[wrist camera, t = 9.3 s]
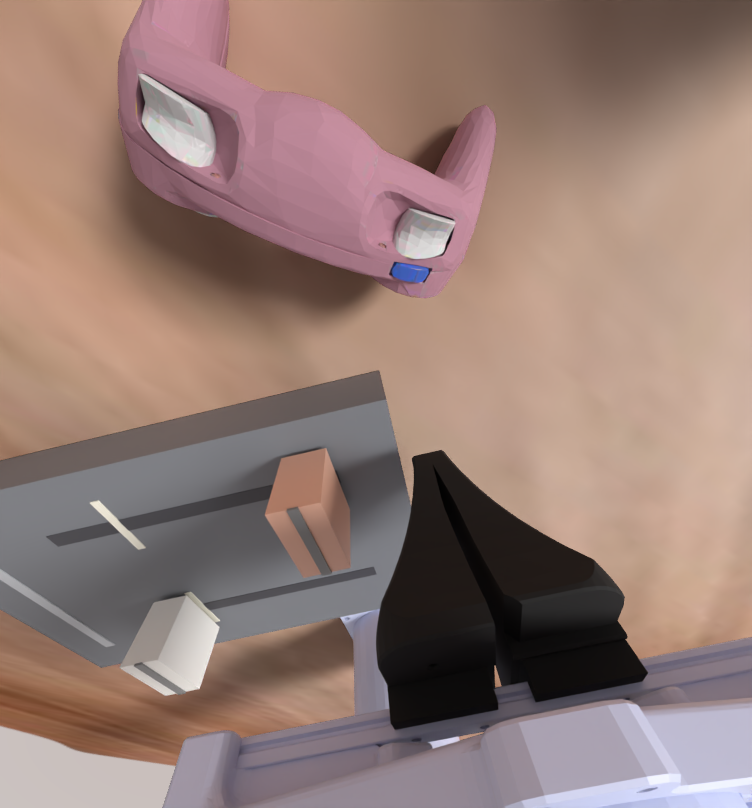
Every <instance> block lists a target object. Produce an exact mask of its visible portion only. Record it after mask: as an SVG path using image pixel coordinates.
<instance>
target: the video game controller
mask: <svg viewBox="0 0 752 808" xmlns="http://www.w3.org/2000/svg"><path fill="white" fill-rule="evenodd" d="M228 41H229V2H228V0H142V3H141V5H140V7H139V9H138V11H137V13H136V15H135V17H134V19H133V21H132V23H131V25H130V27H129V29H128V31H127V33H126V35H125V37H124V39H123V42H122V47H121V52H120V56H119V61H118V94H119V109H118V119H119V123H120V126H121V130H122V134H123V138H124V141H125V145H126V149H127V153H128V157H129V160H130V164H131V168H132V171H133V173H134V174H135V176H136V177H137V178H138V179H139V180H140V181H141V182H142V183H143V184H144V185H145V186H146V187H147V188H149V189H150V190H151V191H152V192H153V193H154V194H156V195H158V196H160V197H162V198H163V199H165V200H167V201H169V202H171V203H173V204H175V205H178V206H181V207H184V208H187V209H191V210H194V211H196V212H198V213H200V214H203V215H205V216H208V217H219V218H221V219H223V220H225V221H227V222H229V223H231V224H233V225H234V226H236V227H238V228H240V229H242V230H244V231H246V232H248V233H250V234H253V235H255V236H258V237H260V238H262V239H265V240H267V241H269V242H272V243H274V244H276V245H279V246H281V247H283V248H286V249H288V250H290V251H293V252H295V253H298V254H301V255H304V256H307V257H310V258H313V259H315V260H318V261H321V262H324V263H327V264H330V265H333V266H336V267H339V268H343V269H346V270H350V271H353V272H356V273H360V274H365V275H369V276H371V277H372V278H373V279H375V280H376V281H378V282H379V283H380V284H382V285H383V286H385V287H387V288H389V289H391V290H393V291H394V292H396V293H400V294H403V295H406V296H410V297H418V298H428V297H433V296H436V295H438V294H439V293H440V292H441V291H442V289H443V288H444V286H445V285H446V284H447V282H448V281H449V279H450V278H451V277H452V275H453V274H454V272H455V271H456V270H457V268H458V267H459V265H460V264H461V263H462V261H463V259H464V256H465V254H466V251H467V248H468V246H469V243H470V239H471V237H472V234H473V232H474V229H475V226H476V222H477V219H478V215H479V211H480V208H481V204H482V200H483V196H484V192H485V188H486V183H487V179H488V174H489V170H490V165H491V160H492V155H493V151H494V145H495V137H496V124H495V118H494V113H493V112H492V111H491V109H490V108H489V107H488V106H486V105H483V106H480V107H477V108H475V109H474V110H472V111H471V112H470V113H469V114H467V115H466V117H465V118H464V120H463V121H462V123H461V124H460V126H459V127H458V129H457V131H456V133H455V135H454V137H453V140H452V142H451V144H450V145H449V147H448V149H447V150H446V152H445V154H444V155H443V157H442V160H441V162H440V164H439V166H438V168H437V170H436V172H435V175H434V174H432V173H430V172H428V171H426V170H425V169H423V168H421V167H419V166H417V165H414V164H412V163H410V162H408V161H406V160H404V159H401V158H399V157H397V156H395V155H393V154H390V153H388V152H386V151H384V150H382V149H381V148H380V146H379V145H378V144H377V143H376V142H375V141H374V140H373V139H372V138H371V137H370V136H369V135H368V134H367V133H366V132H365V131H364V130H363V129H362V128H361V127H359V126H358V125H357V124H356V123H355V122H353V121H352V120H351V119H350V118H348V117H347V116H346V115H345V114H343V113H342V112H341V111H339V110H337V109H336V108H334V107H332V106H330V105H328V104H326V103H324V102H322V101H320V100H317V99H314V98H310V97H307V96H303V95H299V94H296V93H289V92H275V91H265V90H263V89H261V88H259V87H258V86H256V85H254V84H252V83H250V82H248V81H247V80H245V79H243V78H241V77H239V76H238V75H236V74H234V73H232V72H230V71H228V70H227V69H225V68H226V62H227V55H228Z"/></svg>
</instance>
